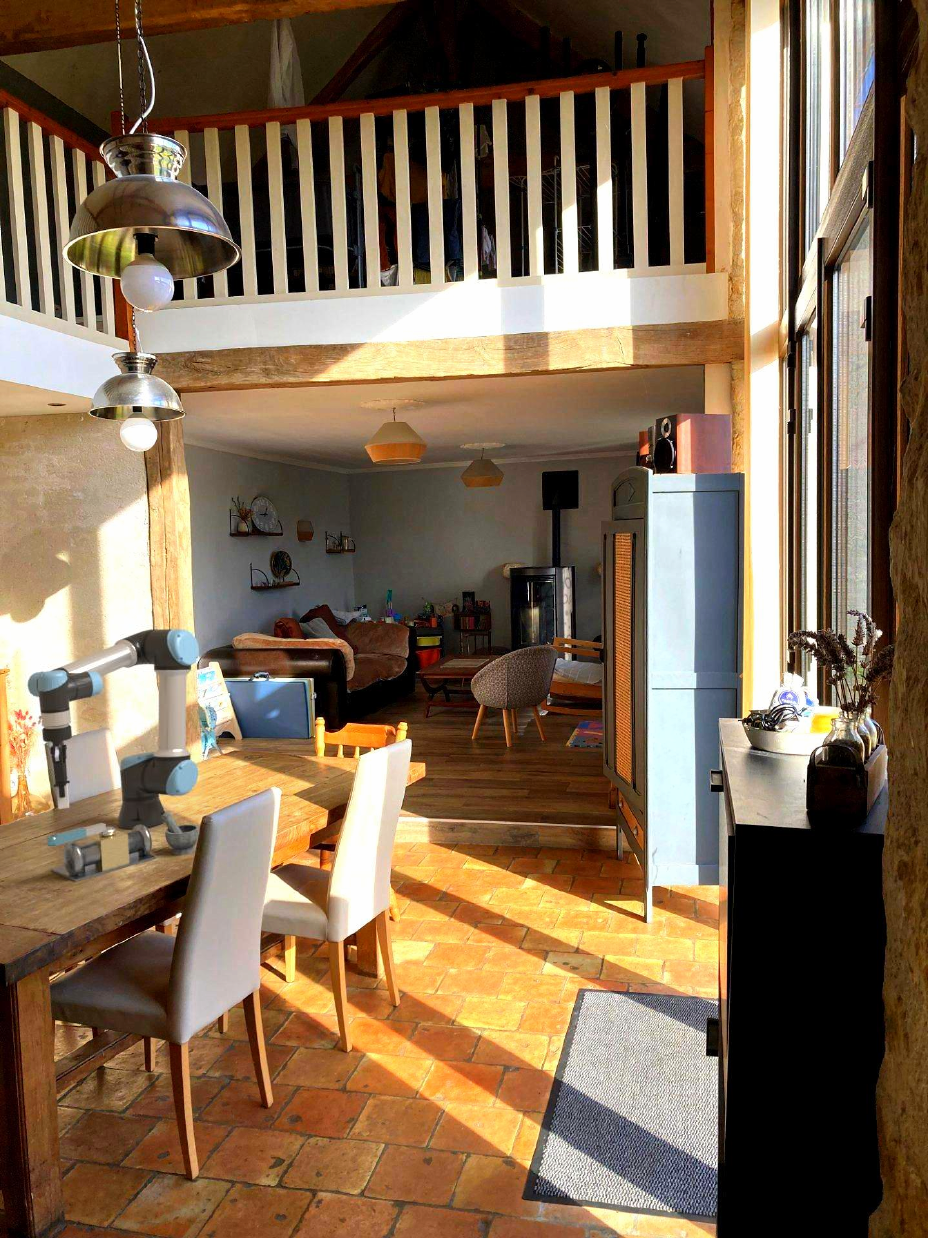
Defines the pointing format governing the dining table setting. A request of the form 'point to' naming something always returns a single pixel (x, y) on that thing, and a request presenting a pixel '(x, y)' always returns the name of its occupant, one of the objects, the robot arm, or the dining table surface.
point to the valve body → (105, 853)
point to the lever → (80, 834)
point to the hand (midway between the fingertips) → (63, 807)
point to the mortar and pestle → (180, 835)
